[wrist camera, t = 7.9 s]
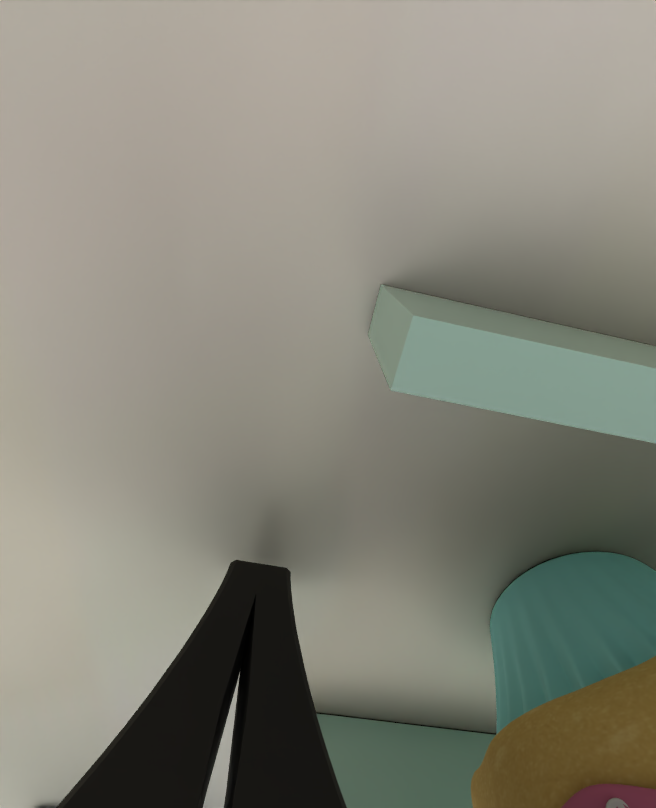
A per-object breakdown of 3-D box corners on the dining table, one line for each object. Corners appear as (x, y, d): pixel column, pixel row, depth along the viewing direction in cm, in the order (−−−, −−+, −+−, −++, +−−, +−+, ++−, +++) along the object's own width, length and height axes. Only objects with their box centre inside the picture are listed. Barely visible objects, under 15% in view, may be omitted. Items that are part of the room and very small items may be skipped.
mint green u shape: (680, 772, 15) (760, 895, 12) (266, 724, 13) (251, 851, 11) (1055, 436, 9) (1382, 527, 6) (381, 284, 7) (413, 315, 5)
